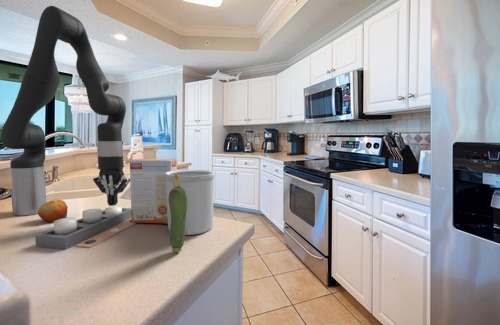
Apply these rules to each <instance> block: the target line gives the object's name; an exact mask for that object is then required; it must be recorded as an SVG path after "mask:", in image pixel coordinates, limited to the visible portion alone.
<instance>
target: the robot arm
mask: <svg viewBox="0 0 500 325" xmlns="http://www.w3.org/2000/svg"><path fill="white" fill-rule="evenodd" d="M35 35H36V36H35V39H34V40H35V41H34V45H33V48H32V52H31V55H30V58H29V61H28V63H27V67H26V68H25V72H24V75H23V78H22V81H21V84H20V86H19V90H18V94H17V96H16V98H15V101H14V103H13V106H12V108H11V110H10V113H9V114H8V116H7V118H6V120H5V123H4V124H3V126H2V129H1V133H0V141H1V144H2V145H3V146H4V148H5V147H6V148H7V149H11V150H23V153H22V154H21V155H20V156H18V157H16V158H13V159H12V160H10V163H9V164H10V166H9V167H10V176H11V188H10V195H11V196H10V197H11V207H12V209H11V210H12V214H14V215H15V216H30V215H31V216H32V215H36V214H37V215H38V210H39V208H40V207H41V206H42V205H43V204H44V203H46V202H48V201H47V191H46V179H45V178H46V177H45V159H46V134H45V132H44V130H43V127H41V126H40V125H38V124H34V123H32V124H31V123H30V122H31V119H32V118H33V117H34V115H35V114H37V113H38V112H39V111H40V110H41V109H42V108H44V107H45V106H47V104H49V103H50V102H51V101H52V100H53V99H54V98H55V95H56V93H57V90H58V87H59V84H60V80H61V79H60V72H59V70H58V66H57V64H56V63H57V62H56V59H55V50H56V45H57V43H58V40H59V41H61V42H64V43H66V44H69V45H70V46H71V48H72V49H73V51H74V52H75V53H76V56H77V57H76V58H77V59H76V63H75V66H76V68H75V69H76V72H77V74H78V76H79V78H80V79H81V82H82V83H83V85H84V87H85V89H86V90H85V91H86V94H87V100H88V106H89V107H90V109H91V110H92V111H93V113H95V114H97V115H100V116H105V117H106V116H107V120H106V121H105V122H102V123H99V124H98V125H97V129H96V130H97V132H96V133H97V147H96V148H97V168H98V170H99V172H98V176H96V177H93V179H92V181H93V183H94V184H95V185H96V186H97V188H98V190H99V191H100V192H101V193H102V194H103V193H104V194H106V197H107V204H108V207H114V206H117V205H118V200H119V199H118V198H119V197H118V194H121V193H123V192H124V191H125V189H126V188H127V186H128V185H129V183H130V178H127V177H126V176H125V173H124V171H123V169H124V165H125V164H124V147H123V141H122V140H123V136H122V128H123V125H124V121H125V118H126V112H127V106H126V102H125V101H124V100H123V98H121V97H120V96H118V95H115V94H110V93H106V92H107V91H108V90H109V89H110V84H109V81H108V79H107V77H106V75H105V74H104V72H103V70H102V68H101V67H100V64H99V63H98V61H97V59H96V56H95V53H94V50H93V48H92V44H91V42H90V39H89V36H88V33H87V31H86V29H85V26H84V24H83V23H82V22H81V20H80V19H78V18H77V17H75V16H73V15H72V14H70V13H69V12H66V11H64V10H63V9H62V8H59V7H56V6H55V5H49V6H47V7H45V8H44V10H43V11H42V12H41V15H40V17H39V21H38V26H37V30H36V34H35Z"/></svg>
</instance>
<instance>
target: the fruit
mask: <svg viewBox="0 0 500 325" xmlns="http://www.w3.org/2000/svg"><path fill="white" fill-rule="evenodd" d="M37 215H38V217H39V218H40V219H41V220H42V221H44V222H49V223H50V222H51V223H54V221H56V220H59V219H63V218H68V217H67V216H68V205H67V203H66V202H65V201H64V200H63V199H52V200H49V201H47V202H46V203H44V204H43V205H42V206H41V207H40V208H39V210H38V214H37Z"/></svg>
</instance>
